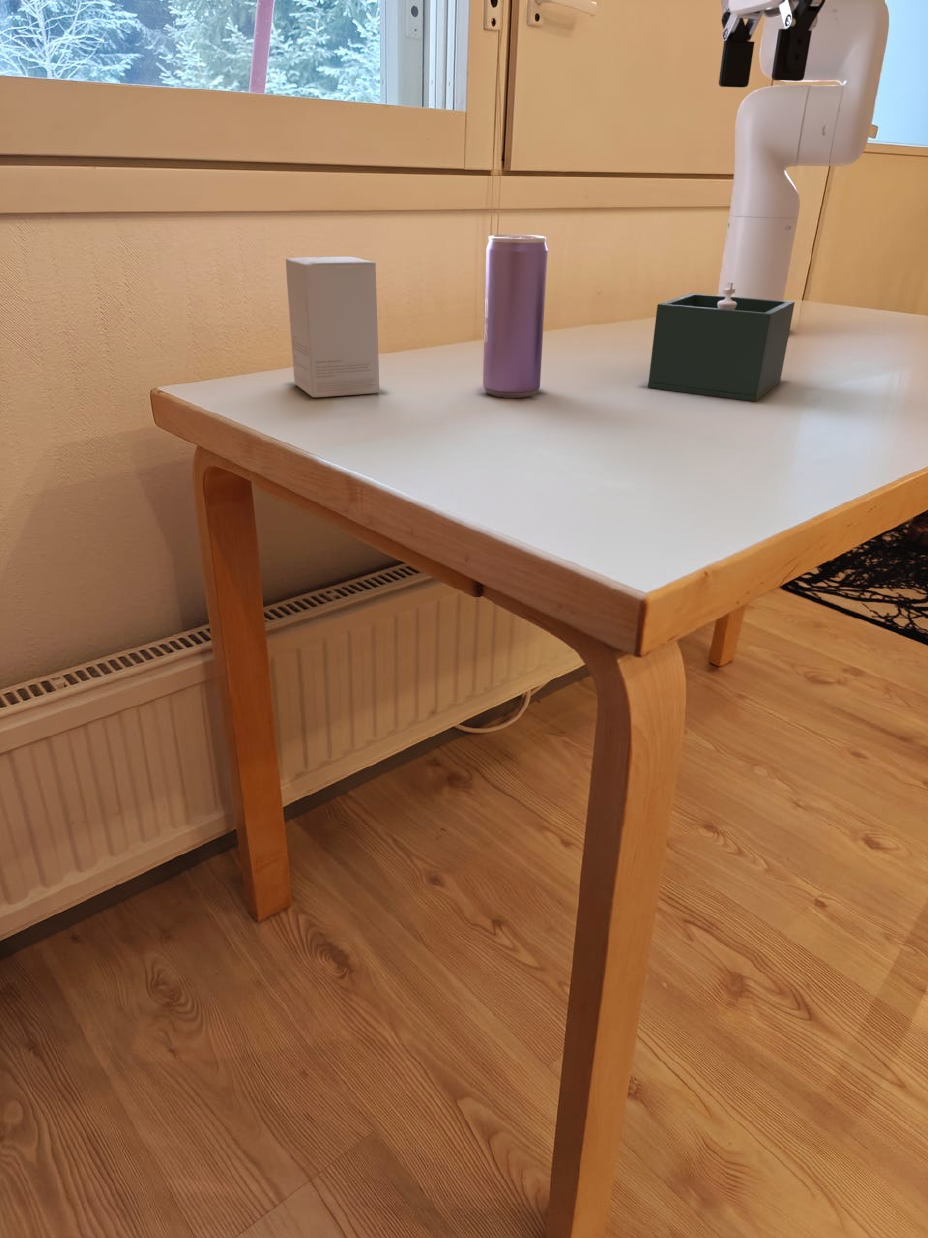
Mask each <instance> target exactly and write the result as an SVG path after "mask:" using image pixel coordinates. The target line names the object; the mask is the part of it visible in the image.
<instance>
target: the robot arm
mask: <svg viewBox="0 0 928 1238" xmlns="http://www.w3.org/2000/svg"><path fill="white" fill-rule="evenodd" d="M720 2H721V10H722V11H721V12H722V16H721V21H720V22H721V26H722V29H723V30H722V35H721V40H722V41H723V47H722V55H721V62H720V69H719V79H718V85H719V87H721V88H747V87H748V86H749V83H750V76H751V70H752V63H753V55H754V50H755V49H754V48H755V41H753V40H752V41H751V39H752V37H753V35H754V34H755V31H756V28H757V27H758V25H759V23H760V21H761V19H762V16H764V22H763V28H762V34H761V39H760V46H759V47H760V48H759V57H758V58H759V68H760V70H761V73H762V74H763V75H764V76H765V77H766V78H768V79H770V80H773V81H778V82H779V81H781V82H838V83H839V84H827V85H820V84H818V85H817V84H816V85H813V84H812V85H811V84H794V85H793V84H791V85H790V84H788V85H787V84H786V85H785V84H784V85H783V84H782V85H769V86H765V87H761V88H758V89H755V90H754V91H752V92H750V93H749V94H747V95H746V96H745V97H744V99H743V100H742V101H741V102H740V105H739V107H738V108H737V109H738V110H737V113H736V118H735V126H734V167H733V168H734V170H733V180H732V181H733V184H732V189H731V199H730V206H729V212H728V220H727V226H726V233H725V239H724V240H725V241H724V246H723V247H724V248H723V255H722V261H721V267H720V268H721V269H720V275H719V281H718V290H717V294H716V296H726V294H723V289H727V283H729V282H730V283H733V289H735V293H732V294H731V297H740V298H753V299H765V300H778V301H784V299H785V293H786V288H787V283H788V277H789V276H788V275H789V271H790V265H791V260H792V259H791V258H792V254H793V248H794V243H795V236H796V233H797V232H796V231H797V226H798V219H799V215H800V208H801V201H800V194H799V192H798V190H797V188H796V186H795V184H794V182H793V181H792V180H791V178H790V177H789V175H788V174H787V169H788V168H791V167H843V166H849V165H851V164H854V163H855V162H857V160H859V159H860V158H861V156H862V155H863V153H864V151H865V149H866V147H867V143H868V140H869V137H870V133H871V129H872V124H873V119H874V114H875V108H876V103H877V99H878V94H879V93H878V92H879V86H880V81H881V77H882V71H883V66H884V62H885V55H886V50H887V43H888V36H889V29H890V13H889V12H890V11H889V8H888V5H887V3H886V1H885V0H721V1H720ZM744 19H746V20H747V21H746V23H745V21H744Z"/></svg>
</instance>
